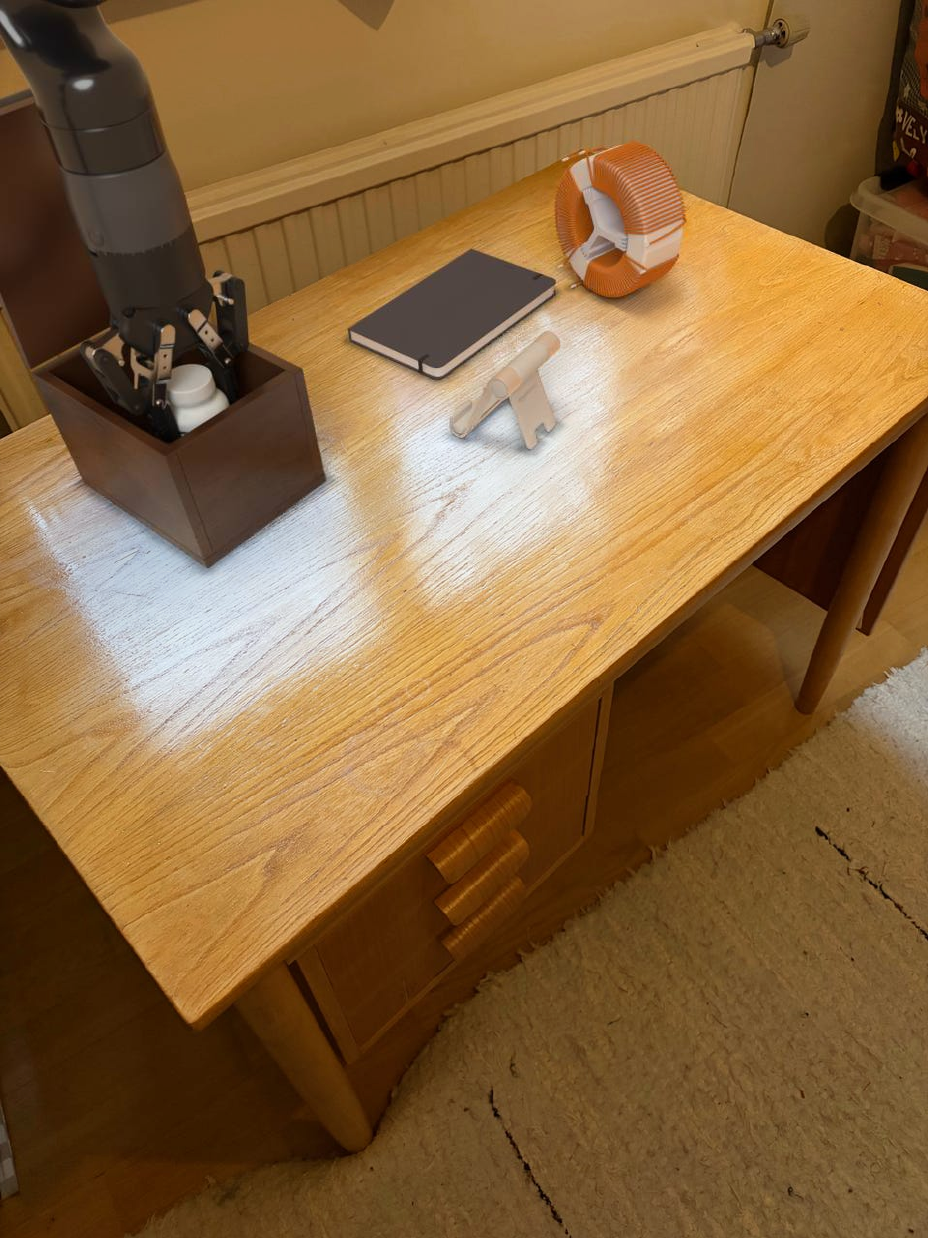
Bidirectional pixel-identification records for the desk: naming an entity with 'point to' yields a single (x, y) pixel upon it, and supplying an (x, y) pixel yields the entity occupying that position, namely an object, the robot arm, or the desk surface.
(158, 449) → the chest
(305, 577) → the desk surface
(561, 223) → the coil
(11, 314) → the lid
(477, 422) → the tablet stand
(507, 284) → the notebook
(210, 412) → the pill bottle
